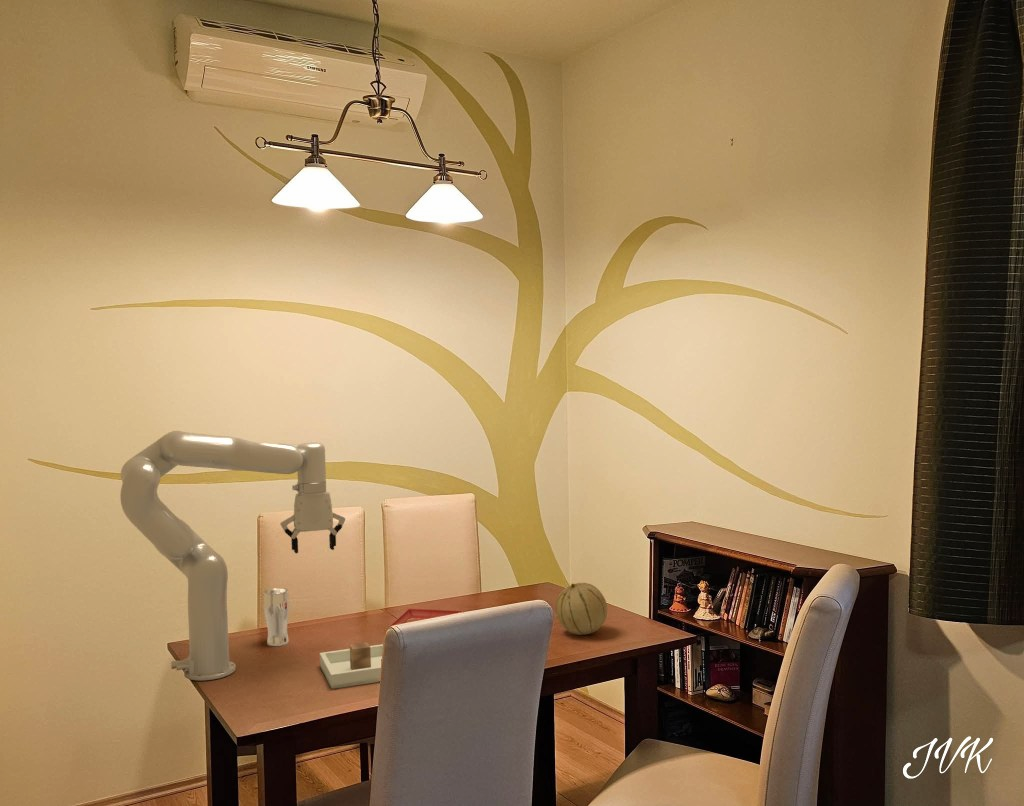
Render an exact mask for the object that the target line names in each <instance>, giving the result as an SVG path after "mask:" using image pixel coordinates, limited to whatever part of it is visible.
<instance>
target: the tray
mask: <svg viewBox="0 0 1024 806" xmlns="http://www.w3.org/2000/svg"><path fill="white" fill-rule="evenodd" d="M383 644H384V643H382V644H374V645H369V646H370V652H371V667H370V668H363V669H356V670H351V668H350V648H346V649H345V648H344V649H339V650H331V651H326V652H325V651H324V652H319V666H320V669H321V671H322V672H323V675H324V676H325V679H326V681H327V682H328V685H329V687H330V688H331V690H336V689H341V688H347V687H354V686H360V685H361V686H362V685H368V684H373V683H380V682H379V679H380V671H381V659H382V652H383Z"/></svg>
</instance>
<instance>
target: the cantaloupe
mask: <svg viewBox="0 0 1024 806" xmlns="http://www.w3.org/2000/svg"><path fill="white" fill-rule="evenodd" d="M555 611H556V616H557V619H558V621H559V623H560V625H561V626H562V627H563V629H565V630H566V631H567V632H569V633H571V634H573V635H579V636H584V635H589V634H593V633H595V632H597V631H598V630H599V629H600V628H601V627H602V626H603V625H604V623H605V621H606V620H607V615H608V603H607V600H606V599H605V597H604V595H603V593H602V592H601V591H600V590H599V588H597V587H596V586H595V585H593V584H592V583H588V582H576V583H571V584H570V585H568V586H566V587H565V588H564V589H563V590H561V592H560V593H559V595H558V596H557V599H556V603H555Z"/></svg>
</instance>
